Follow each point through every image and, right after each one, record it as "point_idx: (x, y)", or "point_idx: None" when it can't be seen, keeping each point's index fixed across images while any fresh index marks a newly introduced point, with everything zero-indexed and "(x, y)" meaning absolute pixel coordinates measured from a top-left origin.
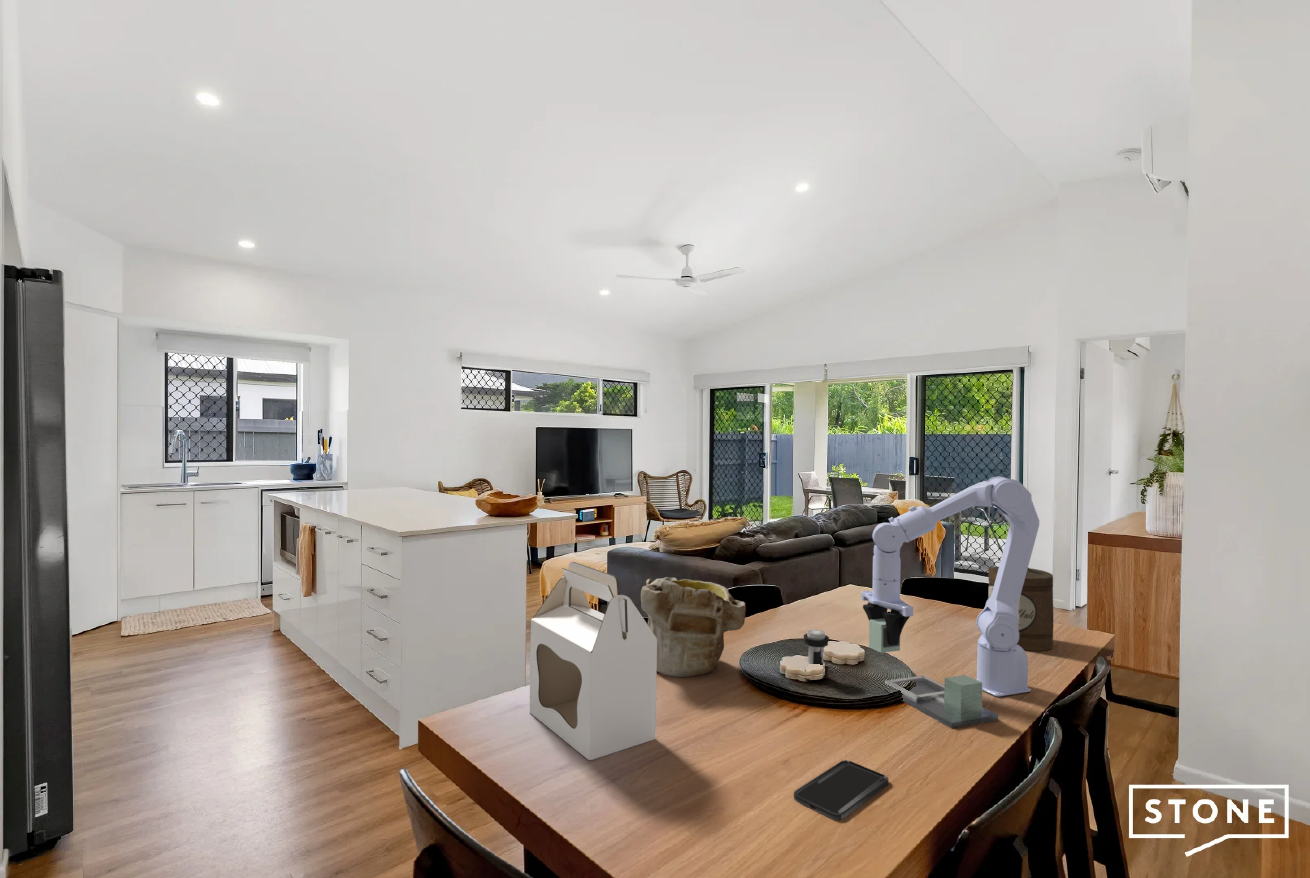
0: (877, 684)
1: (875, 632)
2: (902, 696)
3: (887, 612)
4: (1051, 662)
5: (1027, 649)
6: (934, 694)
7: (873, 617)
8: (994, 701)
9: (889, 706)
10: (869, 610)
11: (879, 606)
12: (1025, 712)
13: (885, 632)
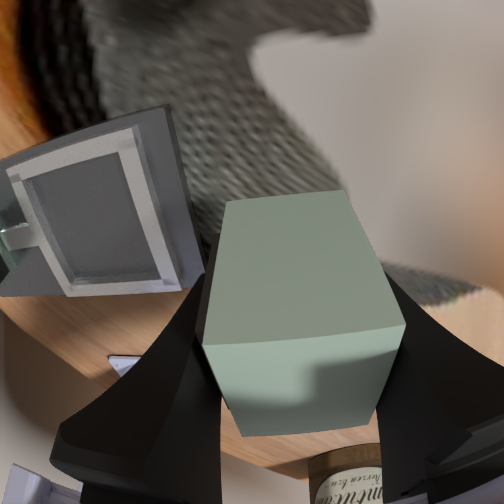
0: (198, 115)
1: (290, 266)
2: (47, 141)
3: (135, 489)
4: (267, 456)
5: (317, 457)
6: (34, 233)
7: (405, 372)
8: (90, 340)
9: (23, 79)
10: (443, 414)
11: (407, 484)
12: (54, 347)
13: (199, 314)
